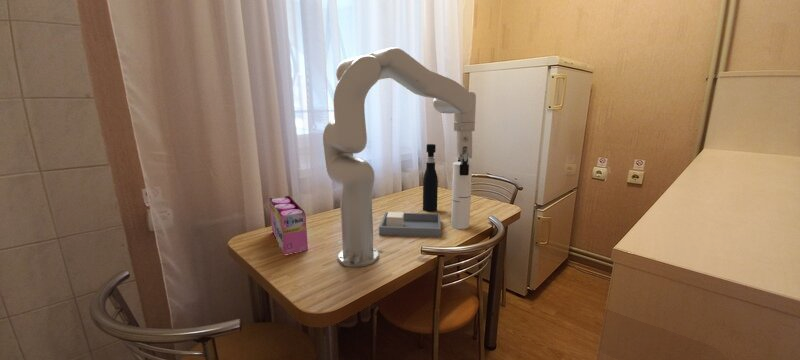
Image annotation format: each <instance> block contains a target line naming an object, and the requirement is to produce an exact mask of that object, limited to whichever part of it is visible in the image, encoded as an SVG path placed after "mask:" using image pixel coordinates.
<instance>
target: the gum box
mask: <svg viewBox="0 0 800 360" xmlns="http://www.w3.org/2000/svg"><path fill="white" fill-rule="evenodd" d="M268 202H269V213H270V223H271V225H270V226H271V231H273V233H274V235H275V237H276V239H277V241H278V243H279V245H280V247H281V249H282V251H283V252H282V251H281V252H282V254H283V253H284V254H290V253H295V252H300V251H304V252H306V251H305V250H308V251H309V244H308V243H309V241H308V231H307V229H308V228H307V216H306V215H307V214H306V212H305V210H304V209H303V207H301V206H300V205H299V204H298V203H297V202H296V201H295V200H294V199H293V197H292V196H291V195H285V196H284V197H278V198H272V197H269V198H268ZM273 233H272V234H273ZM274 235H273V236H274ZM275 237H274V238H275ZM276 239H275V240H276ZM277 241H276V242H277ZM278 243H277V244H278ZM279 245H278V246H279ZM280 247H279V248H280ZM281 249H280V250H281ZM300 253H301V252H300ZM284 254H283V255H284Z"/></svg>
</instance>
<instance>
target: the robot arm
mask: <svg viewBox="0 0 800 360" xmlns="http://www.w3.org/2000/svg"><path fill="white" fill-rule="evenodd" d="M335 74H336V79H337V81H338V82H337V84H336V87H335V90H334V93H333V116H334V119H333V120H331V121H330V122H328V123H327V124H326V126H325V127H324V130H323V133H322V143H323V144H322V145H323V153H324V161H325V168H326V172H327V175H328V177H329V179H330V181H332V182H333V183H335V184H337V185H339V186H342V192H341V196H340V208H339V209H340V220H341V222H340V224H341V238H342V239H341V241H342V245H341V246H342V250H341V251H340V252H338V254H337V259H338V262H339V263H340V264H341V265H343V266H345V267H354V268H355V267H356V268H358V267H365V266H369V265H372V264H373V263H375V262H376V261H377V260H378V259H379V257H380V256H379V251H378V250H377V249H376V248H375V247H374V224H373V223H374V219H373V218H374V217H373V193H374V192H373V191H374V185H375V177H376V176H375V170H374V168H373V166H372V165H371V164H370V162H368V161H367V160H365V159H363V158H359V157H356V156H354V154H355V155H356V154H359V153H361V152H363V151H364V150H365V148H366V147H367V141H368V136H367V135H368V133H367V124H366V113H365V111H366V109H365V106H366V105H365V103H366V97H367V95H368V93H369V91H370V89H372V87H374V86H375V85H376V83H378V81H380V80H383V79H392V80H393V81H395V82H396V83H397V84H399V85H401V86H403V87H404V88H406V89H407V90H409V91H410V92H412V94H415V95H418V96H421V97H423V98H431V99H433V102H432V103H433V105H432V106H433V108H434V109H435V110H436V111H437V112H438V113H442V114H450V115H451V114H454V115H453V116H454V117H453V132H456V154H457V157H458V159H457V162H461V164H460V175H469V161H470V160H471V159H472V158H473V132H474V131H476V129H475V128H476V104H477V95H476V93H475V92H473V91H468V89H466V88H465V86H463V85H462V84H460V83H459V82H458V81H456V80H453V78H452V79H451V78H449V77H447V76H444V75H441V74H439V73H437V72H434V71H433V70H432V71H431V70H430V69H428V68H427V67H425V66H424V65H423V64H421V63H420V62H419V61H418V60H417V59H415V58H414V57H412V56H411V55H410V54H408V53H407V52H406V51H405V50H403V49H401V48H399V47H393V46H392V47H388V48H384V49H381V50H376V51H374V52H370V53H368V54H362V55H358V56H355V57H351V58H347V59H344V60H342V61H341V62H340V63H339V64H338V66H337V69H336V71H335ZM469 159H470V160H469Z"/></svg>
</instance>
